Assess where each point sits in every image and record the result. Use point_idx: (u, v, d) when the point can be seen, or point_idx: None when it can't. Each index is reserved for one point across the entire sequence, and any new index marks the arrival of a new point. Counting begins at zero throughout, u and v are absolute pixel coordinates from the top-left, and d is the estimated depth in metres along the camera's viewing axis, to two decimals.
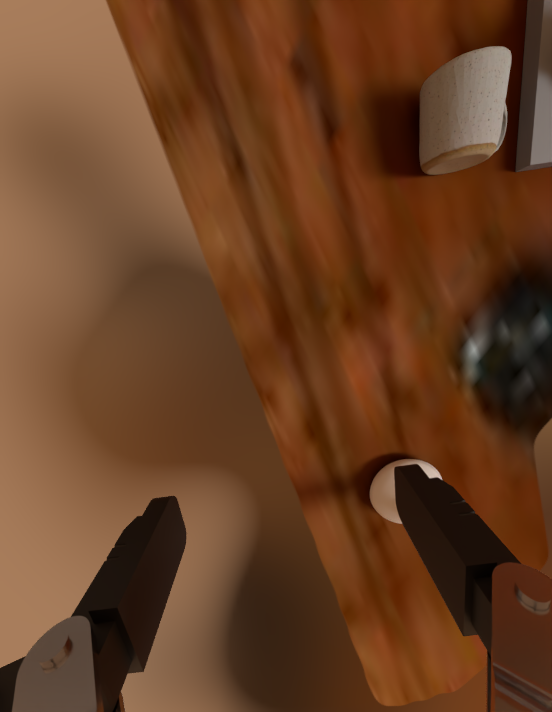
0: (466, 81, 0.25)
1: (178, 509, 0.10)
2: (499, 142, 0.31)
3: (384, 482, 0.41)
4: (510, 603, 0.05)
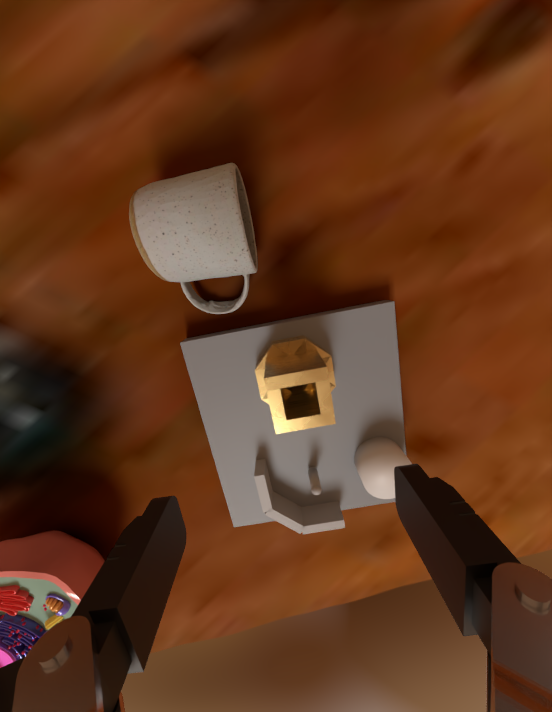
0: (203, 188, 0.18)
1: (178, 509, 0.10)
2: (204, 308, 0.25)
3: None
4: (510, 603, 0.05)
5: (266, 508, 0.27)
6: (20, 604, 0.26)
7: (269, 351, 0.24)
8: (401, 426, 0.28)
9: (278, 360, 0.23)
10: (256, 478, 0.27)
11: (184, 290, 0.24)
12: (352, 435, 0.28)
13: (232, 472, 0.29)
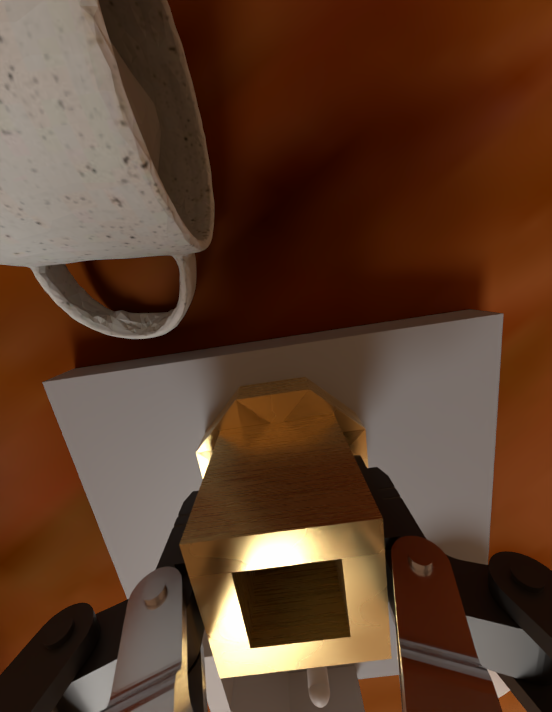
0: None
1: None
2: (100, 325, 0.12)
3: None
4: (406, 574, 0.06)
5: (218, 709, 0.14)
6: None
7: (228, 414, 0.11)
8: (483, 550, 0.15)
9: (245, 442, 0.10)
10: None
11: (44, 286, 0.11)
12: None
13: None
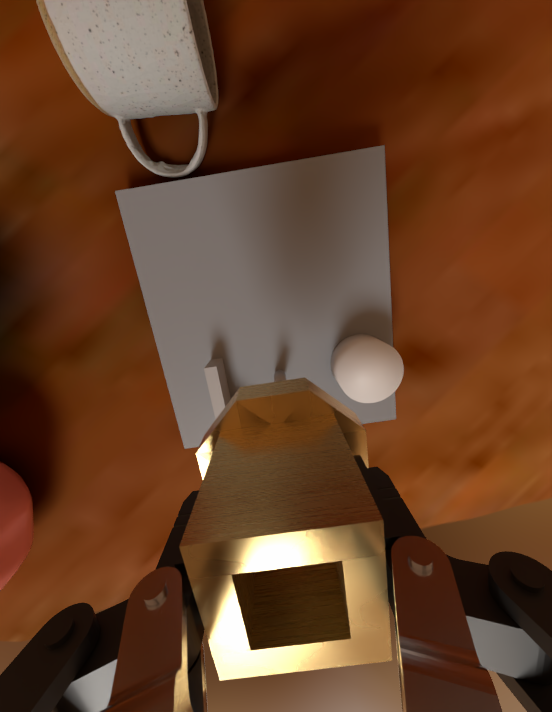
0: None
1: None
2: (151, 166, 0.20)
3: None
4: (406, 574, 0.06)
5: (219, 413, 0.22)
6: None
7: (228, 415, 0.11)
8: (388, 320, 0.23)
9: (245, 443, 0.10)
10: (206, 371, 0.21)
11: (123, 133, 0.19)
12: (329, 330, 0.23)
13: (182, 375, 0.24)
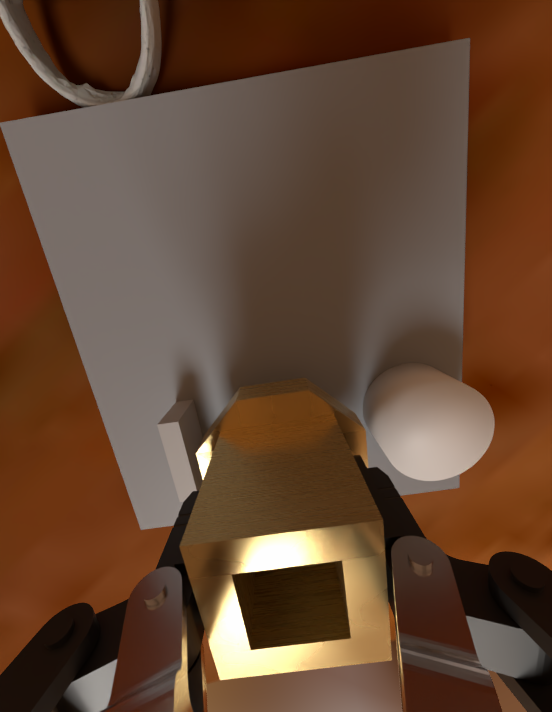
0: None
1: None
2: (65, 88, 0.12)
3: None
4: (406, 574, 0.06)
5: (185, 493, 0.14)
6: None
7: (228, 415, 0.11)
8: (457, 342, 0.14)
9: (245, 443, 0.10)
10: (162, 429, 0.13)
11: (5, 20, 0.11)
12: (363, 357, 0.15)
13: (132, 425, 0.15)
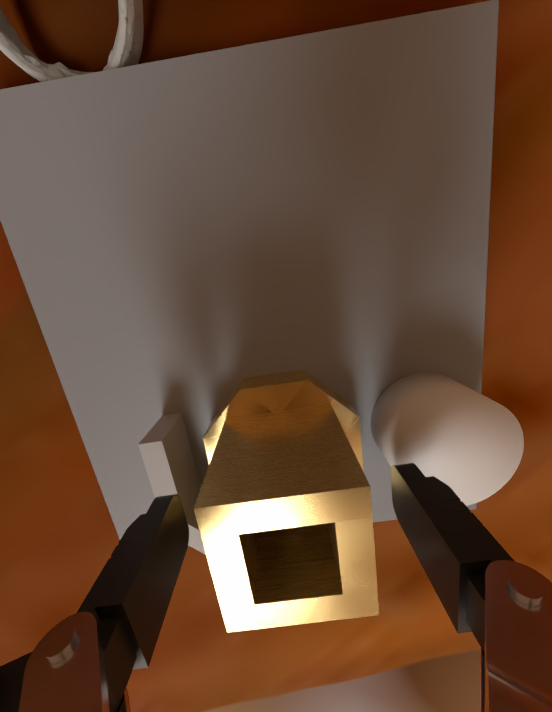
0: None
1: (181, 507, 0.10)
2: (33, 67, 0.10)
3: None
4: (503, 600, 0.05)
5: None
6: None
7: (233, 403, 0.12)
8: (478, 349, 0.13)
9: (249, 427, 0.11)
10: (144, 449, 0.11)
11: None
12: (371, 366, 0.13)
13: (114, 442, 0.14)
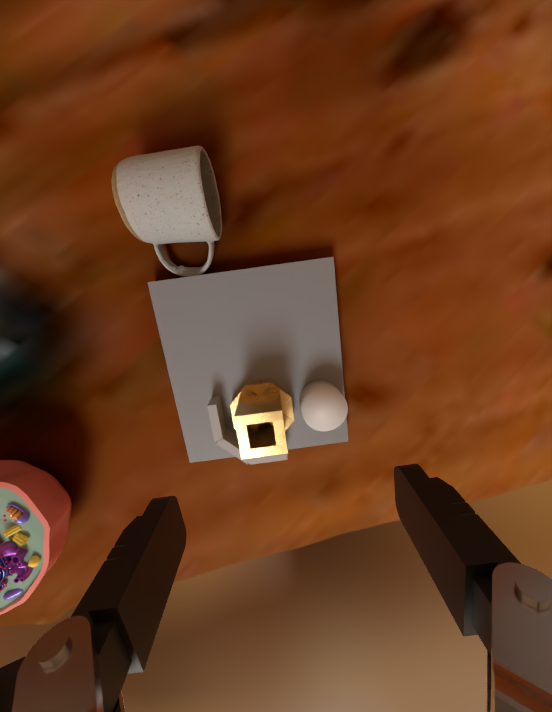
0: (173, 161, 0.22)
1: (178, 509, 0.10)
2: (174, 270, 0.29)
3: None
4: (510, 603, 0.05)
5: (217, 437, 0.31)
6: None
7: (242, 391, 0.31)
8: (340, 371, 0.32)
9: (248, 399, 0.30)
10: (209, 407, 0.30)
11: (157, 252, 0.28)
12: (298, 377, 0.32)
13: (190, 408, 0.32)
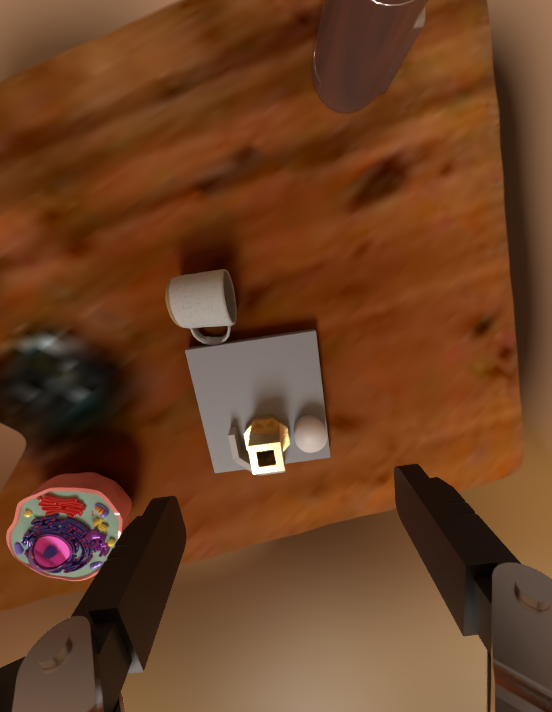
0: (206, 286, 0.34)
1: (178, 509, 0.10)
2: (203, 341, 0.42)
3: None
4: (510, 603, 0.05)
5: (235, 457, 0.43)
6: (78, 509, 0.41)
7: (252, 424, 0.43)
8: (323, 408, 0.44)
9: (257, 431, 0.42)
10: (229, 436, 0.42)
11: (191, 331, 0.40)
12: (292, 412, 0.44)
13: (215, 435, 0.45)
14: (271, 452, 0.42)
